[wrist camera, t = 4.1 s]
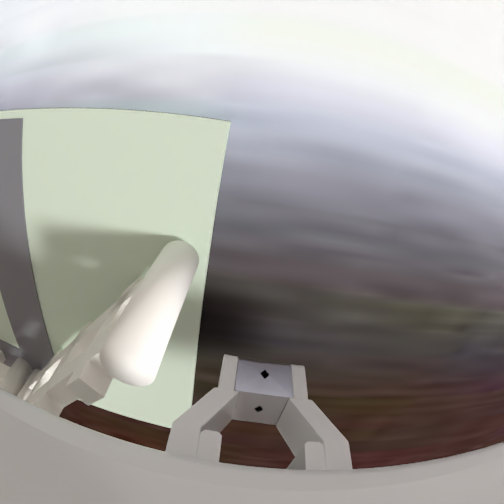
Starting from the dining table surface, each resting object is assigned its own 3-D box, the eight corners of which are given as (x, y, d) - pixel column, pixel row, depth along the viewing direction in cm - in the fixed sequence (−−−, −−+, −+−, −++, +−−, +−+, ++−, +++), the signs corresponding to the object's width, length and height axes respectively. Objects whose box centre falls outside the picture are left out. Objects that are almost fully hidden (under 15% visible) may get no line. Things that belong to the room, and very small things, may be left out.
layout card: (189, 427, 20) (188, 433, 19) (-39, 337, 19) (-42, 340, 18) (230, 121, 11) (229, 122, 10) (-84, 123, 10) (-88, 125, 9)
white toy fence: (47, 387, 18) (15, 445, 13) (30, 371, 18) (-5, 428, 12) (208, 263, 13) (171, 377, 7) (178, 230, 12) (116, 331, 7)
